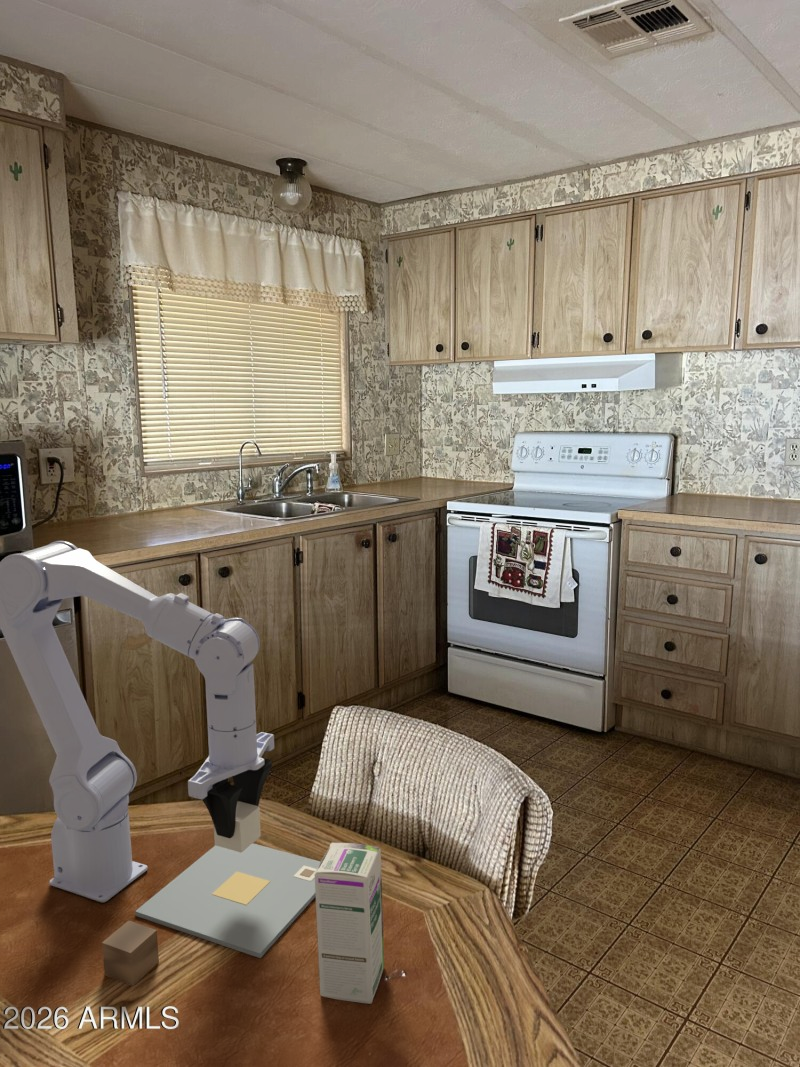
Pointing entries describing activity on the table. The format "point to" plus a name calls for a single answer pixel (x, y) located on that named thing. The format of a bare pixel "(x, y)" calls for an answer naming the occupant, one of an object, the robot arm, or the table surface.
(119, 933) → the walnut block
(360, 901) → the syrup box
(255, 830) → the cream block
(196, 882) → the board
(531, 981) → the table surface
